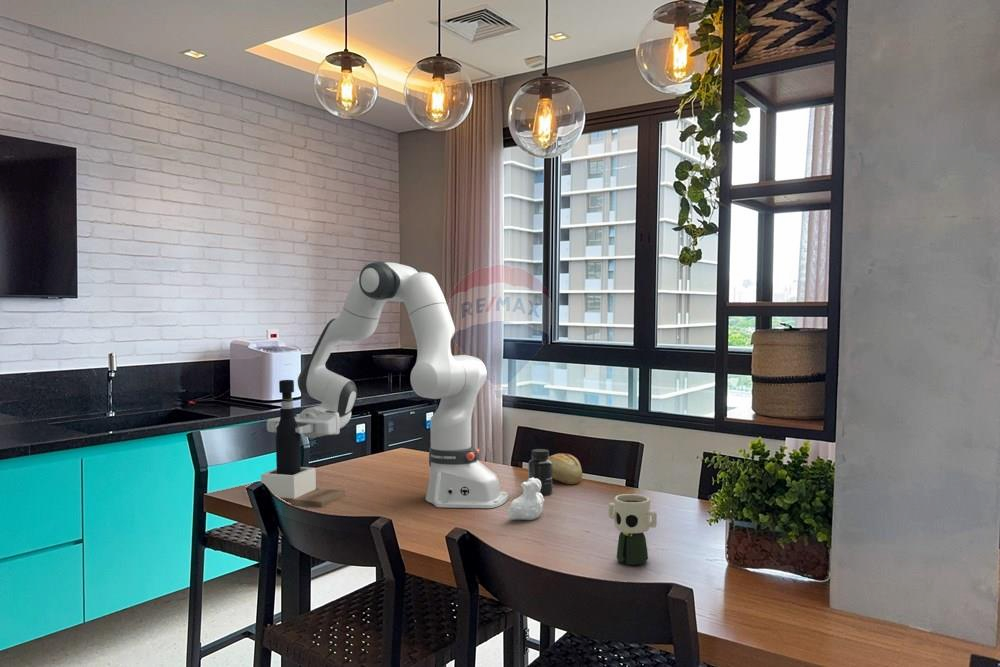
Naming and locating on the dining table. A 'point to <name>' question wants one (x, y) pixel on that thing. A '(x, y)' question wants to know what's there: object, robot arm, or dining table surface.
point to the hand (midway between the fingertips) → (285, 430)
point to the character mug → (632, 526)
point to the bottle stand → (300, 488)
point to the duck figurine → (527, 501)
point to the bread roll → (566, 468)
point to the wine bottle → (287, 434)
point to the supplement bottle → (541, 470)
